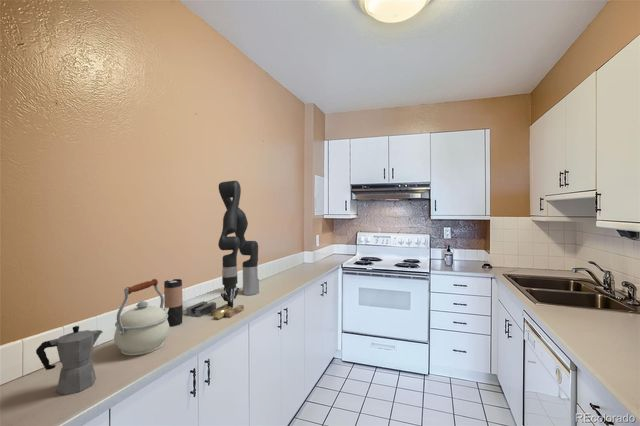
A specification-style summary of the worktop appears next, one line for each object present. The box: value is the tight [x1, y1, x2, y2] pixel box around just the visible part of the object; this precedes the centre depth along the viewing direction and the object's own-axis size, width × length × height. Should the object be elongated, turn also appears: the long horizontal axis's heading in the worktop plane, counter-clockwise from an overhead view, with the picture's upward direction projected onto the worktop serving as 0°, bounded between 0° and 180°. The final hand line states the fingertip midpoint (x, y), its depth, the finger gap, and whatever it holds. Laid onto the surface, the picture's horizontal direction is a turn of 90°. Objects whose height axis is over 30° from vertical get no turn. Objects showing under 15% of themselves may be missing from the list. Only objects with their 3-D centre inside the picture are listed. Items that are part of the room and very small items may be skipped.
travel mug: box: [163, 278, 184, 327], centre depth 140 cm, size 8×8×20 cm
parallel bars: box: [211, 303, 245, 319], centre depth 154 cm, size 12×11×2 cm
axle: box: [213, 306, 233, 321], centre depth 150 cm, size 10×4×4 cm, turn 161°
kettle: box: [113, 278, 170, 357], centre depth 118 cm, size 25×18×25 cm
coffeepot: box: [35, 325, 104, 395], centre depth 90 cm, size 15×9×18 cm, turn 137°
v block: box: [185, 300, 217, 318], centre depth 156 cm, size 12×9×4 cm
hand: (230, 308), depth 156 cm, fingers closed
